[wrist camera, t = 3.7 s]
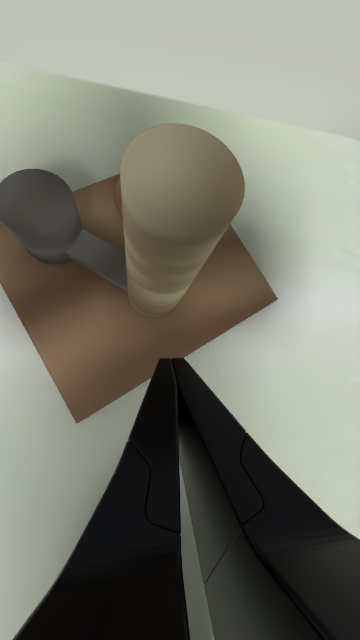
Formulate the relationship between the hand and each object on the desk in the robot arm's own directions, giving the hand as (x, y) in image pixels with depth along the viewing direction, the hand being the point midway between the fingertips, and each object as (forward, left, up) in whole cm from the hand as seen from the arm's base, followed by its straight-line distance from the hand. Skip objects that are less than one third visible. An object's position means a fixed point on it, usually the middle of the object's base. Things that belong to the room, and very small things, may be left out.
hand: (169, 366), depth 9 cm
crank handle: (+7, 0, -7) cm, 10 cm away
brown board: (+6, -2, -8) cm, 10 cm away
